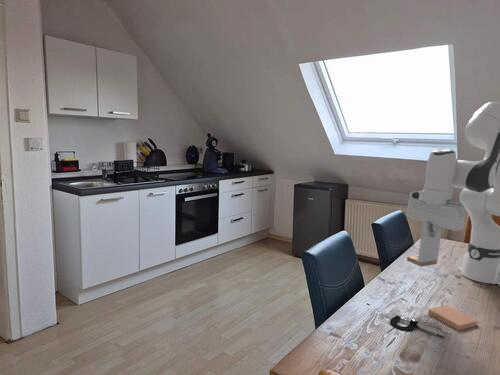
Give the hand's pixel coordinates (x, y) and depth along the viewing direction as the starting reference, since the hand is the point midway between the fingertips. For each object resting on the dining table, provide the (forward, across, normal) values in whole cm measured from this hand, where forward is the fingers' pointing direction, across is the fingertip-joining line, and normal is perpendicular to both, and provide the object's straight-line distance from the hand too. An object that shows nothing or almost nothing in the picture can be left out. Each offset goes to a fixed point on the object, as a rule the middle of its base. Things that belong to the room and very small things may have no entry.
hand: (431, 236), depth 128 cm
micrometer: (+25, -13, +18) cm, 33 cm away
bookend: (+10, +2, 0) cm, 10 cm away
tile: (+24, -6, 0) cm, 25 cm away
